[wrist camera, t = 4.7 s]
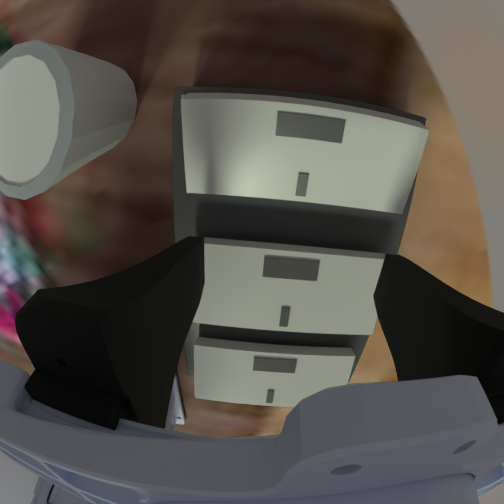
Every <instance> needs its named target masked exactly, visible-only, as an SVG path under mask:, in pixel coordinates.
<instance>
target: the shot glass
mask: <svg viewBox="0 0 504 504" xmlns="http://www.w3.org/2000/svg"><path fill="white" fill-rule="evenodd" d="M137 101H138V100H137V96H136V91H135V86H134V83H133V81H132V80H131V78H130V77H129V76H128V74H127V73H126V71H125V70H124V69H122V68H120V67H118V66H116V65H114V64H112V63H109V62H107V61H104V60H101V59H98V58H95V57H92V56H89V55H86V54H83V53H80V52H77V51H73V50H70V49H67V48H63V47H60V46H56V45H53V44H49V43H46V42H42V41H38V40H33V41H29V42H25V43H21V44H17V45H15V46H13V47H12V48H11V49H10V50H8V51H7V52H6V53H5V54H4V55H3V56H1V57H0V191H1V192H3V193H4V194H5V195H6V196H9V197H14V198H19V199H23V200H26V199H28V198H30V197H33V196H35V195H38V194H40V193H42V192H44V191H46V190H47V189H49V188H50V187H52V186H53V185H54V184H56V183H57V182H59V181H60V180H62V179H63V178H65V177H66V176H68V175H69V174H71V173H72V172H74V171H75V170H77V169H79V168H80V167H82V166H83V165H85V164H87V163H88V162H90V161H92V160H93V159H95V158H97V157H98V156H100V155H102V154H103V153H105V152H107V151H108V150H110V149H112V148H114V147H115V146H116V145H117V144H118V143H119V142H120V141H121V140H122V139H123V138H125V137H126V135H127V133H128V132H129V130H130V128H131V126H132V124H133V122H134V120H135V115H136V108H137Z"/></svg>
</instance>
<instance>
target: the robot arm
mask: <svg viewBox="0 0 504 504" xmlns="http://www.w3.org/2000/svg"><path fill="white" fill-rule="evenodd" d="M204 284H205V263H204V237H194V236H188V237H186V238H184V239H182V240H180V241H179V242H177V243H175V244H174V245H172V246H170V247H169V248H167V249H165V250H163V251H162V252H160V253H158V254H157V255H155V256H153V257H151V258H149V259H147V260H145V261H143V262H142V263H140V264H137V265H135V266H133V267H131V268H128V269H126V270H124V271H121V272H119V273H116V274H113V275H110V276H106V277H103V278H100V279H97V280H93V281H89V282H85V283H81V284H76V285H71V286H65V287H57V288H48V289H39V290H37V291H36V293H35V294H34V295H33V296H32V297H31V298H30V299H29V300H28V301H27V302H26V304H25V305H24V306H23V307H22V308H21V309H20V310H19V311H18V313H17V314H16V318H15V325H16V331H17V334H18V336H19V339H20V341H21V343H22V345H23V347H24V349H25V351H26V353H27V355H28V356H29V358H30V360H31V362H32V364H33V366H34V367H35V370H34V372H33V373H32V375H31V376H30V375H29V374H28V373H27V372H26V371H24V370H22V369H21V368H19V367H16V366H14V365H12V364H10V363H8V362H6V361H4V360H0V451H1V452H2V453H4V454H5V455H6V456H7V457H9V458H11V459H12V460H14V461H15V462H17V463H18V464H20V465H22V466H23V467H25V468H27V469H28V470H30V471H31V472H33V473H35V474H37V475H38V476H39V479H38V481H37V484H36V487H35V490H34V497H33V500H32V503H31V504H479V499H478V496H480V495H481V494H484V493H486V492H488V491H489V490H491V489H493V488H495V487H497V486H499V485H501V484H502V483H504V313H503V312H500V311H498V310H495V309H493V308H490V307H488V306H486V305H483V304H481V303H479V302H477V301H475V300H473V299H471V298H469V297H467V296H465V295H464V294H462V293H460V292H458V291H456V290H455V289H453V288H452V287H450V286H448V285H447V284H445V283H444V282H442V281H440V280H439V279H437V278H436V277H434V276H433V275H431V274H430V273H428V272H427V271H425V270H424V269H422V268H421V267H419V266H418V265H416V264H415V263H413V262H412V261H410V260H408V259H406V258H405V257H403V256H400V255H394V254H386V255H385V258H384V262H383V265H382V269H381V272H380V275H379V279H378V282H377V285H376V288H375V291H374V294H373V298H374V303H375V308H376V312H377V316H378V319H379V321H380V324H381V327H382V330H383V332H384V335H385V338H386V340H387V343H388V346H389V349H390V351H391V354H392V357H393V360H394V364H395V368H396V373H397V378H398V381H393V382H373V383H353V384H347V385H341V386H335V387H329V388H326V389H324V390H322V391H319V392H317V393H315V394H313V395H311V396H309V397H306V398H304V399H302V400H301V401H300V402H299V403H298V404H297V405H296V406H295V407H294V409H293V410H292V411H291V412H290V413H289V414H288V415H287V417H286V420H285V423H284V426H283V429H282V432H281V433H280V434H278V435H267V436H256V437H240V438H216V437H209V436H202V435H195V434H189V433H183V432H178V431H174V427H175V423H176V424H185V416H184V411H183V407H182V402H181V397H180V392H179V386H178V381H177V376H176V370H177V366H178V362H179V358H180V354H181V351H182V348H183V345H184V342H185V340H186V337H187V335H188V332H189V329H190V327H191V324H192V322H193V319H194V317H195V314H196V312H197V309H198V307H199V304H200V301H201V297H202V293H203V288H204ZM48 496H49V497H48Z"/></svg>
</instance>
